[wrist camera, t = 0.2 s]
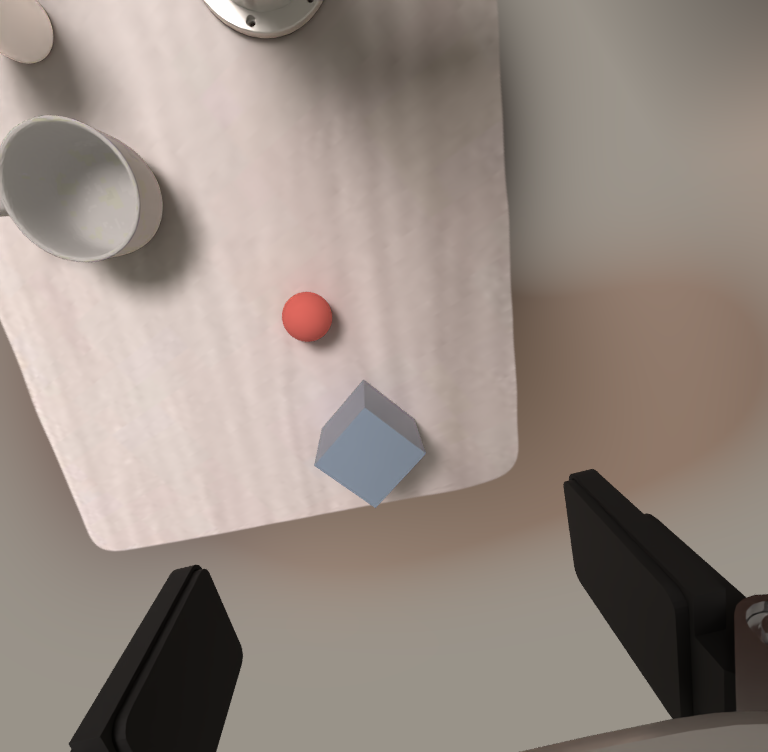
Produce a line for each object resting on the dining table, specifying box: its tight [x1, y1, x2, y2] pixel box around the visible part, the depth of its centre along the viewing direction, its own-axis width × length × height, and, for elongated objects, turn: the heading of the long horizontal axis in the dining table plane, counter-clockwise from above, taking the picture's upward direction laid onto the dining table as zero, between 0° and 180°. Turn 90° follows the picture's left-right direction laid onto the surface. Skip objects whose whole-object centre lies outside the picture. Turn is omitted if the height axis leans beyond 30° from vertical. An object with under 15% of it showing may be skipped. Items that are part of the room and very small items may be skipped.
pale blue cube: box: [314, 380, 426, 508], centre depth 45 cm, size 8×8×9 cm
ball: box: [282, 292, 332, 342], centre depth 43 cm, size 5×5×5 cm
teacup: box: [0, 115, 163, 262], centre depth 37 cm, size 14×11×8 cm
